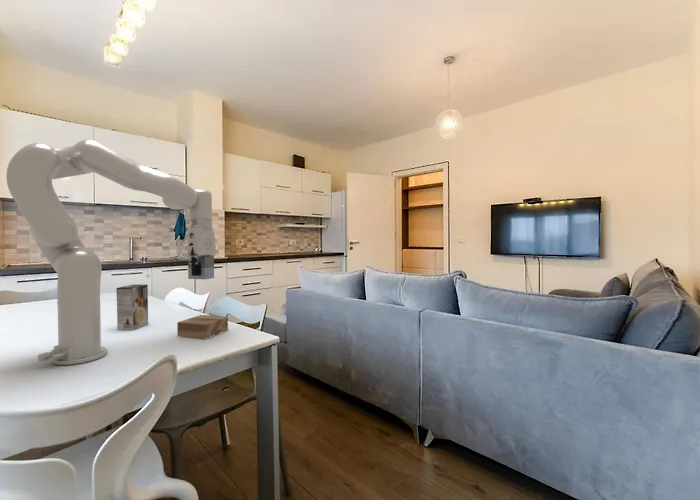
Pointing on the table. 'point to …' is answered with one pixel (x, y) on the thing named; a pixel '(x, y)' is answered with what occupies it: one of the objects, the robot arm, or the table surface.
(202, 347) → the table surface
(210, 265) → the block
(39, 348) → the table surface
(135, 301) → the coffee box
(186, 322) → the walnut stand
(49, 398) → the table surface
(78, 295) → the robot arm
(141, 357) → the table surface
